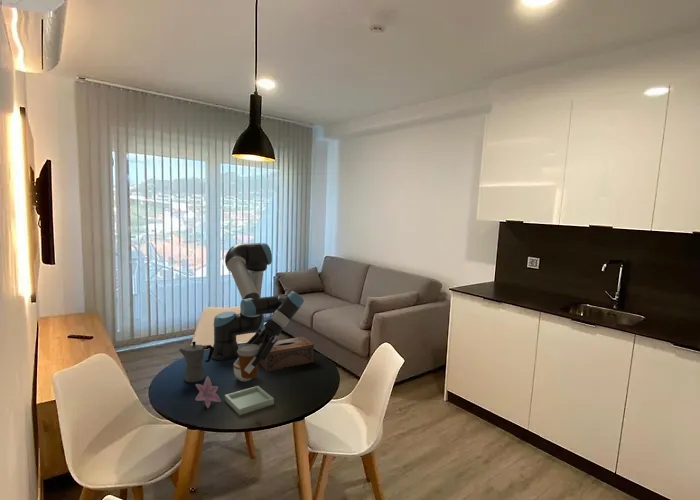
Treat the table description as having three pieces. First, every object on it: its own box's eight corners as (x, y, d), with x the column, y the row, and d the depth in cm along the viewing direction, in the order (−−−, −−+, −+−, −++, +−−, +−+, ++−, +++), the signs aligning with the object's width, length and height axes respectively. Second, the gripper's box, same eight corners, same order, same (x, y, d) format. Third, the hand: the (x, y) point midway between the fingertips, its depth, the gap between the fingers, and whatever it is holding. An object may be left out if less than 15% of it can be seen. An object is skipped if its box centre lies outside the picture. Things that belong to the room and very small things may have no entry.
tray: (224, 400, 165) (224, 395, 165) (257, 391, 175) (257, 385, 175) (239, 415, 154) (239, 409, 154) (273, 404, 163) (273, 398, 163)
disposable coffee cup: (246, 382, 156) (245, 353, 155) (232, 375, 162) (232, 347, 161) (265, 375, 163) (265, 347, 162) (252, 368, 170) (251, 342, 168)
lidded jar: (228, 380, 185) (228, 361, 184) (244, 372, 195) (244, 354, 194) (246, 385, 180) (245, 365, 179) (261, 377, 190) (261, 358, 189)
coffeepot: (178, 384, 180) (178, 346, 178) (180, 376, 189) (179, 339, 187) (214, 380, 185) (213, 342, 184) (214, 372, 194) (213, 336, 192)
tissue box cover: (302, 353, 222) (302, 336, 221) (313, 362, 210) (313, 344, 209) (258, 361, 209) (257, 343, 208) (266, 371, 197) (266, 352, 196)
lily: (190, 415, 156) (200, 396, 154) (184, 393, 164) (193, 375, 162) (218, 414, 164) (228, 396, 162) (210, 393, 172) (220, 376, 170)
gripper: (294, 334, 163) (259, 381, 154) (270, 322, 179) (237, 364, 171) (283, 324, 159) (246, 372, 150) (259, 313, 175) (225, 355, 167)
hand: (241, 368), depth 161 cm, fingers closed on disposable coffee cup, 9 cm apart
